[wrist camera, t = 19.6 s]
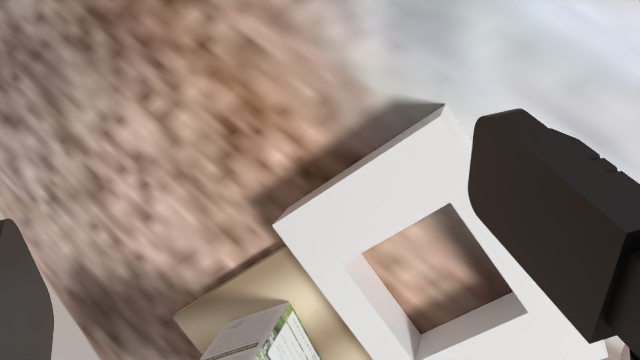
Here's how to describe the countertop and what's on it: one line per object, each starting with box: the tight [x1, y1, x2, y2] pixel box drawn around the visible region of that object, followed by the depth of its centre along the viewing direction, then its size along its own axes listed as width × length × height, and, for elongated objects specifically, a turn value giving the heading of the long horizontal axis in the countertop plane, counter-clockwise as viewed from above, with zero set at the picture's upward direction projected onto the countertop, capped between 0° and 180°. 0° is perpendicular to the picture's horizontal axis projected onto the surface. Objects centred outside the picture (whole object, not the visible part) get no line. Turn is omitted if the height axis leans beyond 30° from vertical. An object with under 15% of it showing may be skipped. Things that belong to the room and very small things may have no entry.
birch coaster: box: [172, 245, 373, 360], centre depth 40 cm, size 12×12×1 cm
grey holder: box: [272, 104, 608, 360], centre depth 34 cm, size 16×12×3 cm
